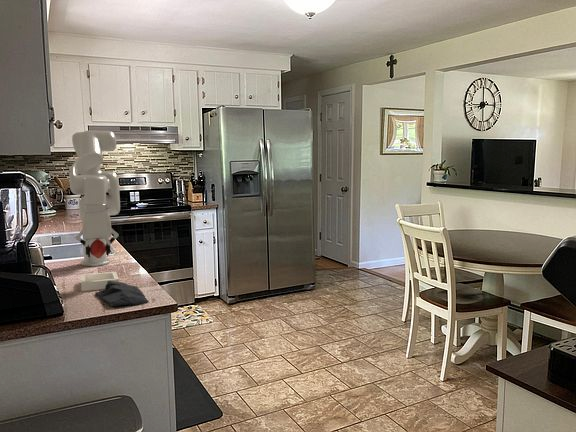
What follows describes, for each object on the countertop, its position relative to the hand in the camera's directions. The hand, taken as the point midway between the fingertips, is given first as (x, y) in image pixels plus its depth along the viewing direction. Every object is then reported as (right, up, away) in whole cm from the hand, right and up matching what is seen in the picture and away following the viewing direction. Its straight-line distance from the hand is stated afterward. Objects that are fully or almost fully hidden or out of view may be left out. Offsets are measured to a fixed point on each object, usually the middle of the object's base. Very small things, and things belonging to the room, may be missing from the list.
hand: (98, 255), depth 177 cm
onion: (0, -1, 0) cm, 1 cm away
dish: (0, -12, +2) cm, 12 cm away
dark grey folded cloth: (+14, -14, -15) cm, 25 cm away
